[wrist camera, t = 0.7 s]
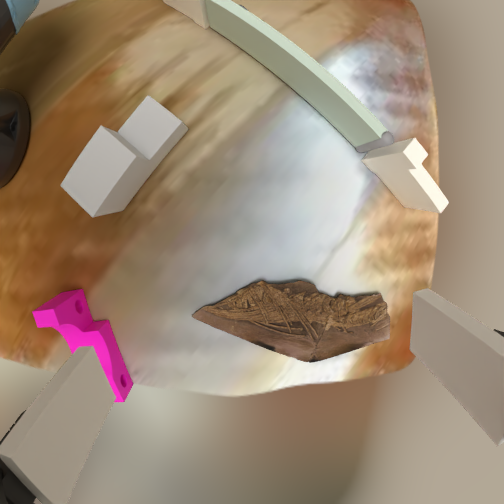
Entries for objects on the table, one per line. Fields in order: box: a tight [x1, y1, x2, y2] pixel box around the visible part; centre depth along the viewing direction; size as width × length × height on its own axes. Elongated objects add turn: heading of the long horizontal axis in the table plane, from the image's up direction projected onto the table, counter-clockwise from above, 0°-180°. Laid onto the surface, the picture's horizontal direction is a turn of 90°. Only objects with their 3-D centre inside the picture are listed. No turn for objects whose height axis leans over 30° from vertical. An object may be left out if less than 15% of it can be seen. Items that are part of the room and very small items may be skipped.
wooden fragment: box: [192, 281, 390, 363], centre depth 35 cm, size 26×11×1 cm, turn 79°
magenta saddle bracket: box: [32, 289, 134, 402], centre depth 32 cm, size 15×6×8 cm, turn 10°
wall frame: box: [163, 0, 449, 213], centre depth 25 cm, size 41×2×10 cm, turn 48°
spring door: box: [205, 0, 394, 153], centre depth 26 cm, size 24×3×7 cm, turn 48°
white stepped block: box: [60, 95, 189, 217], centre depth 28 cm, size 5×12×8 cm, turn 138°
